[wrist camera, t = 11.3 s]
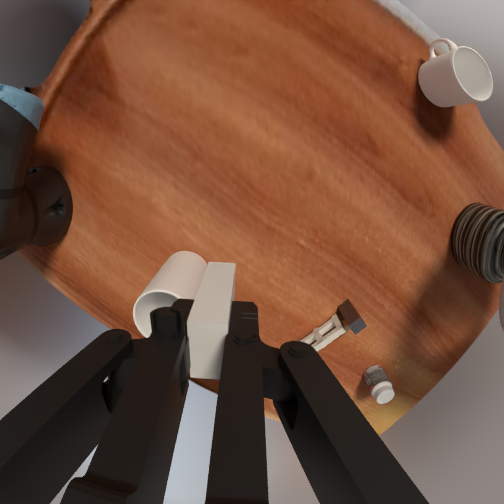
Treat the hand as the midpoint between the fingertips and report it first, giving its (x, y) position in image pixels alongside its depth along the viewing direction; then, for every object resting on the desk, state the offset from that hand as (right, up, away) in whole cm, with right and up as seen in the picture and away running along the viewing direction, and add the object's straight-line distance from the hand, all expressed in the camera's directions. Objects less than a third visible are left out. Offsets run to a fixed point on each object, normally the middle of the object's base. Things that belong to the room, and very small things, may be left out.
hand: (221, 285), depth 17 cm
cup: (-10, -2, +35) cm, 36 cm away
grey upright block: (+18, -9, +37) cm, 42 cm away
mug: (+35, +34, +24) cm, 54 cm away
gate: (+12, -14, +38) cm, 43 cm away
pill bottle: (+28, -25, +42) cm, 56 cm away
